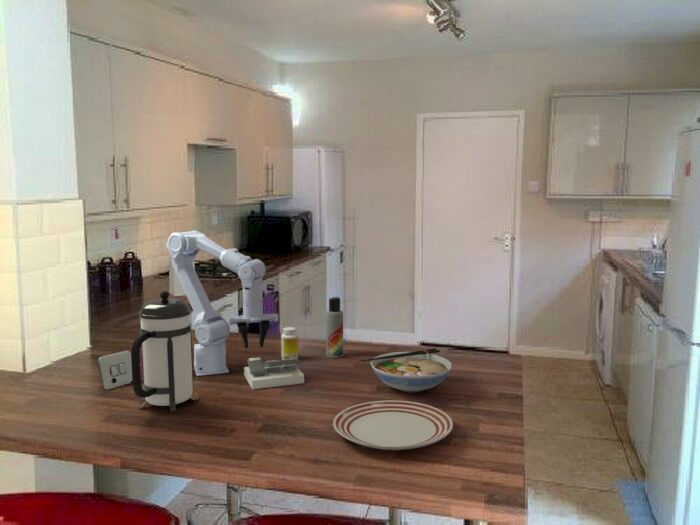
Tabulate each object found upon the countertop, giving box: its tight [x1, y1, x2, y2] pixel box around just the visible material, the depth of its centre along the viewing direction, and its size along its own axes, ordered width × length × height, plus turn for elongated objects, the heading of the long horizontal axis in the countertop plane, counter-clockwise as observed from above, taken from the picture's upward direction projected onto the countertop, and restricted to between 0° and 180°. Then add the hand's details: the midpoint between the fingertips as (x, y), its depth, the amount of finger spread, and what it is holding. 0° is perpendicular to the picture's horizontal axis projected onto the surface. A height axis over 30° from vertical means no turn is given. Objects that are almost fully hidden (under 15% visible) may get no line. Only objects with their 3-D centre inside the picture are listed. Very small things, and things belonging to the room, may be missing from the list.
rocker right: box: [279, 358, 300, 365], centre depth 171 cm, size 4×7×2 cm, turn 20°
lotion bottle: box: [325, 296, 344, 359], centre depth 192 cm, size 6×6×20 cm
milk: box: [168, 256, 196, 297], centre depth 305 cm, size 12×12×26 cm
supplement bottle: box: [280, 326, 299, 360], centre depth 189 cm, size 6×6×10 cm
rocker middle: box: [263, 359, 283, 367], centre depth 169 cm, size 4×7×2 cm, turn 20°
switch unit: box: [243, 364, 305, 390], centre depth 170 cm, size 15×13×4 cm
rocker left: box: [247, 357, 266, 375], centre depth 167 cm, size 4×7×2 cm, turn 20°
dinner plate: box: [332, 399, 454, 451], centre depth 133 cm, size 27×27×3 cm
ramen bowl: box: [360, 347, 453, 394], centre depth 162 cm, size 25×23×8 cm
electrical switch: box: [96, 350, 132, 390], centre depth 165 cm, size 9×5×9 cm, turn 141°
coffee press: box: [130, 290, 199, 414], centre depth 147 cm, size 17×16×30 cm
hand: (253, 346), depth 170 cm, fingers open, 4 cm apart
